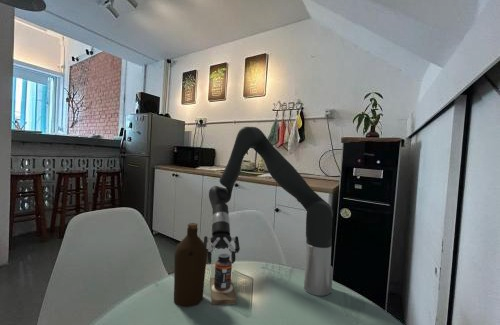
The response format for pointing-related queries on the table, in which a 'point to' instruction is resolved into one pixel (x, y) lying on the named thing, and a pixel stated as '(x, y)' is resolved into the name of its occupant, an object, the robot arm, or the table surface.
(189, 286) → the olive oil
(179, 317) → the table surface
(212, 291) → the board
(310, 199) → the robot arm
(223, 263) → the supplement bottle
